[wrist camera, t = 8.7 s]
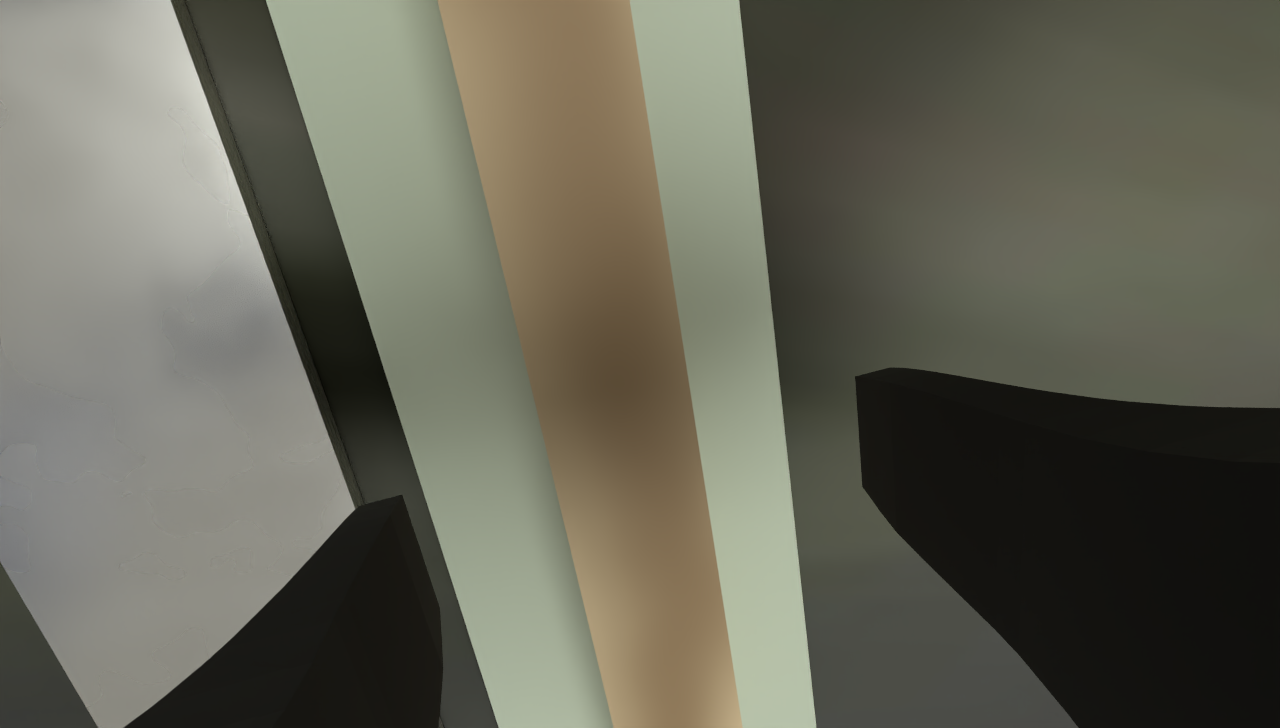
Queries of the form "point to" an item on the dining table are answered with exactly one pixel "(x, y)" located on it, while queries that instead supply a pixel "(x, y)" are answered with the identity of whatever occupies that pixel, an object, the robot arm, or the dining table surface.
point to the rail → (601, 340)
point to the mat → (492, 354)
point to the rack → (144, 358)
